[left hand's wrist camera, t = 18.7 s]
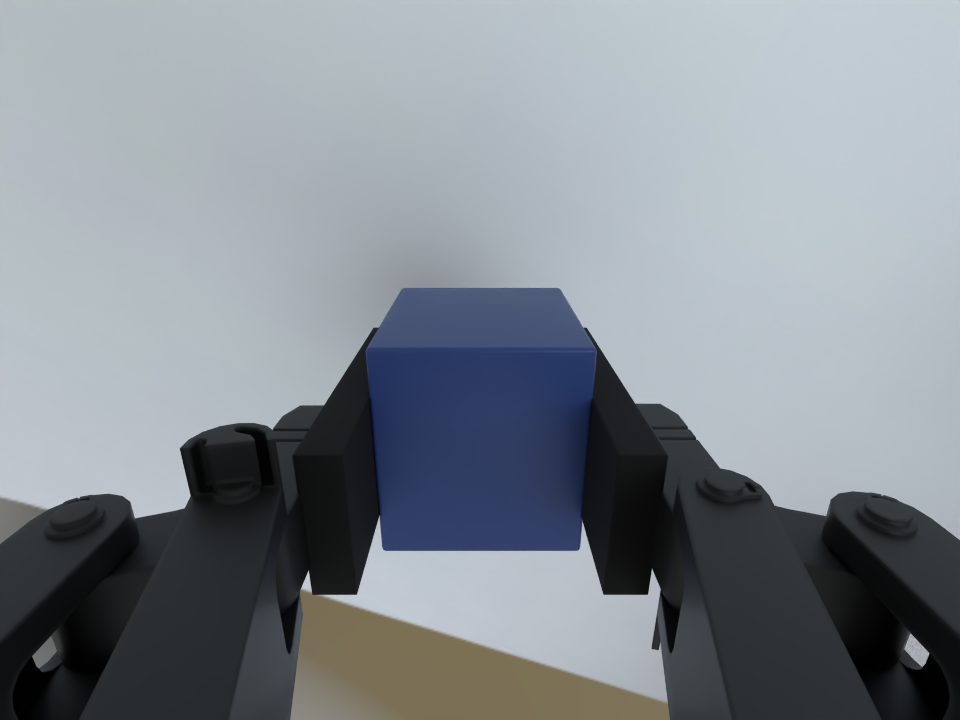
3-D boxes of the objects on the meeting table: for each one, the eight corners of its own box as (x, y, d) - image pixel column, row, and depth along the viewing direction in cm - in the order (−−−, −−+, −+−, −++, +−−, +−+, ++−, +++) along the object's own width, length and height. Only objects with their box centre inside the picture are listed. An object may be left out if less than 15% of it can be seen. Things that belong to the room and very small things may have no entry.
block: (410, 439, 15) (381, 552, 11) (401, 287, 14) (364, 348, 9) (552, 439, 15) (580, 552, 11) (560, 287, 14) (597, 348, 9)
